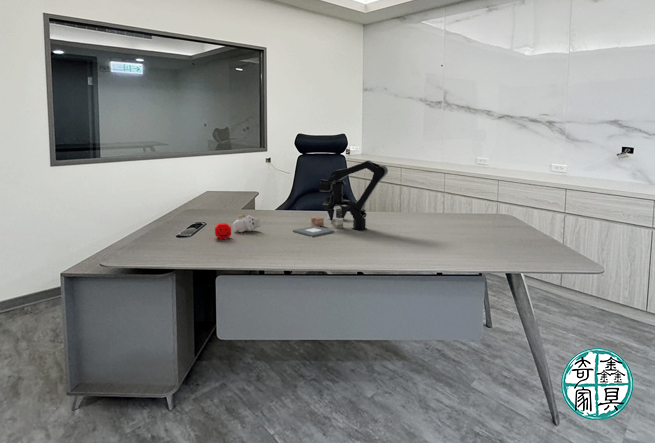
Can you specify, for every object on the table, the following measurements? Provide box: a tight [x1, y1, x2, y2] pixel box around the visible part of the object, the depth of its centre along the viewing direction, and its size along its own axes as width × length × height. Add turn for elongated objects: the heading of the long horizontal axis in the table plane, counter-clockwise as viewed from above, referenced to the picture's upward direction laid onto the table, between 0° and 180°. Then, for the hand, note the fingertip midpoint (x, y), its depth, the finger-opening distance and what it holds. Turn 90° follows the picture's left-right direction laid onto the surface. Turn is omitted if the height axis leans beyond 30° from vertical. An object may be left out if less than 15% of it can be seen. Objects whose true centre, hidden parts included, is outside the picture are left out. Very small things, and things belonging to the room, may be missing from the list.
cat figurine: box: [232, 214, 261, 233], centre depth 272 cm, size 10×8×15 cm
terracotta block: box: [310, 216, 325, 227], centre depth 286 cm, size 5×5×5 cm
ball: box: [214, 222, 232, 240], centre depth 256 cm, size 8×8×8 cm
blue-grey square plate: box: [292, 226, 335, 238], centre depth 271 cm, size 16×16×1 cm
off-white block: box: [330, 218, 344, 229], centre depth 283 cm, size 5×5×5 cm
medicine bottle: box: [326, 206, 344, 220], centre depth 306 cm, size 7×7×12 cm
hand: (337, 219), depth 283 cm, fingers open, 9 cm apart
